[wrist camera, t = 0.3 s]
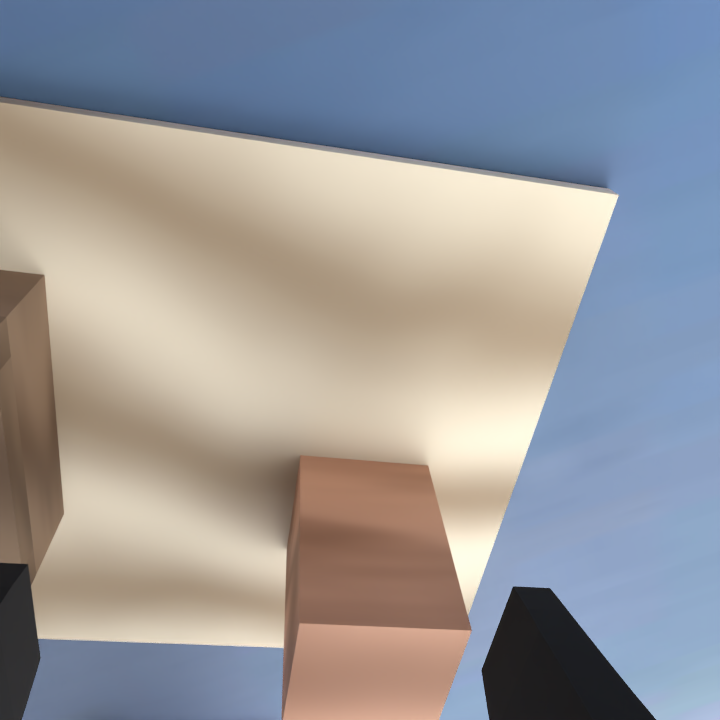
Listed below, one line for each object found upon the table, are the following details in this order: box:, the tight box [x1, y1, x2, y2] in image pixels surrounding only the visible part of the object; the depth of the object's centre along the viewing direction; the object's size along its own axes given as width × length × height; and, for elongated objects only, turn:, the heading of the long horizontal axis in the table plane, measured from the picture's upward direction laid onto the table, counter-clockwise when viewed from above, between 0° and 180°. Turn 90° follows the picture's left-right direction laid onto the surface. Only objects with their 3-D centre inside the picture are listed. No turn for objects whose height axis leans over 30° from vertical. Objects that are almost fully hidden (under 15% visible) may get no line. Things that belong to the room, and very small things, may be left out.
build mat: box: [0, 97, 619, 648], centre depth 18 cm, size 18×25×4 cm
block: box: [282, 455, 472, 720], centre depth 18 cm, size 4×4×6 cm
